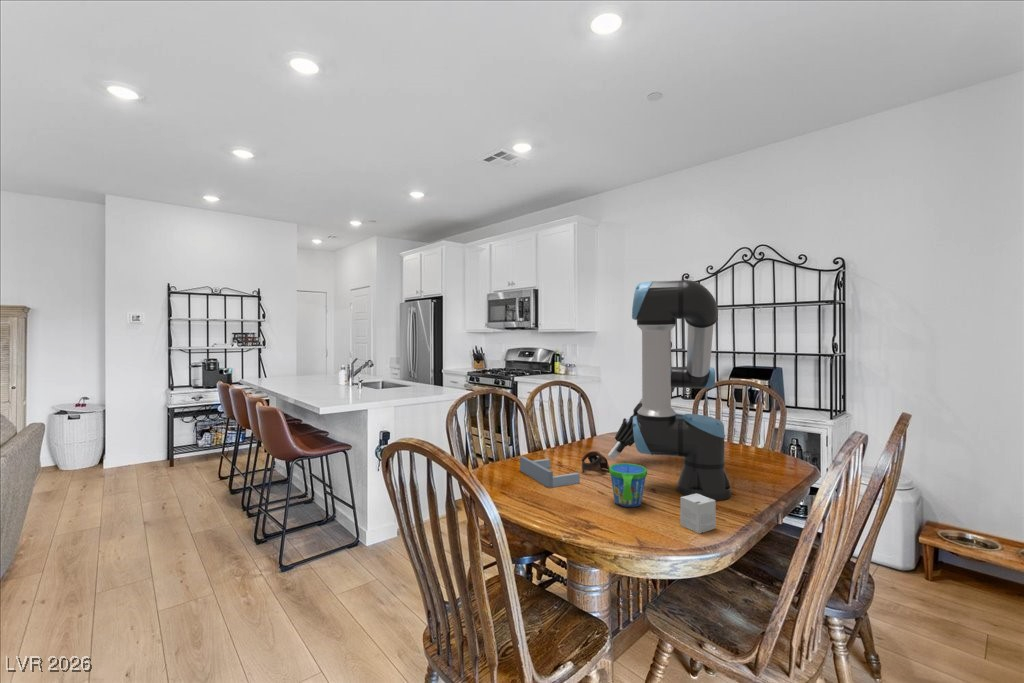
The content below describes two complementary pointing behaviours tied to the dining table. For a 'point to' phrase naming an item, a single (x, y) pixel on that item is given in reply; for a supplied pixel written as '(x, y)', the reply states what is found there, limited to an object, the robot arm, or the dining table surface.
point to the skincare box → (698, 513)
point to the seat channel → (546, 473)
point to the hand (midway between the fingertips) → (610, 457)
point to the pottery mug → (594, 461)
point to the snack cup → (628, 483)
